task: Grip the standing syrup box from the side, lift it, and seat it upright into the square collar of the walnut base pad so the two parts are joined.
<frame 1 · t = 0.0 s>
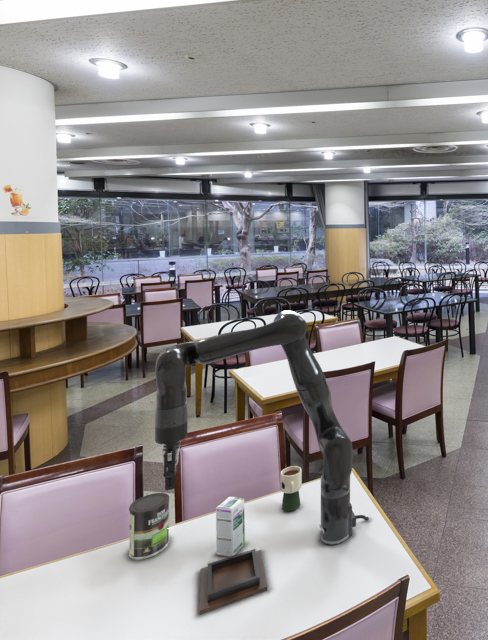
hand: (171, 481, 117), 29 cm above the table, tool pointing down, fingers open, 8 cm apart
base pad: (233, 581, 119), on the table
coffee can: (149, 548, 133), on the table
character mug: (291, 508, 153), on the table
syrup box: (230, 550, 132), on the table
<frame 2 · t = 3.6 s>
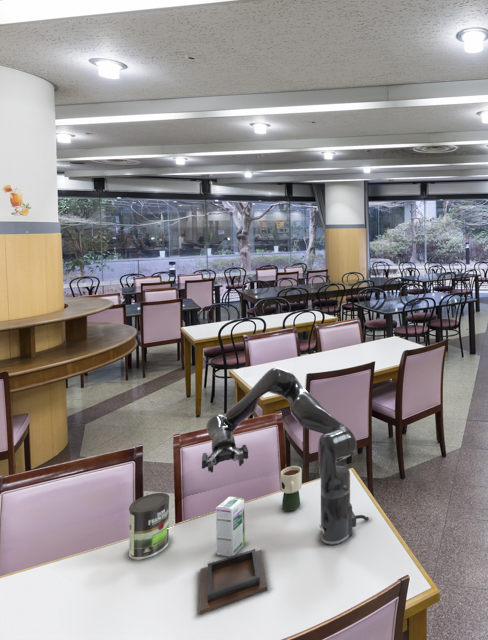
hand: (226, 466, 142), 20 cm above the table, tool horizontal, fingers open, 8 cm apart
nothing on the table moved.
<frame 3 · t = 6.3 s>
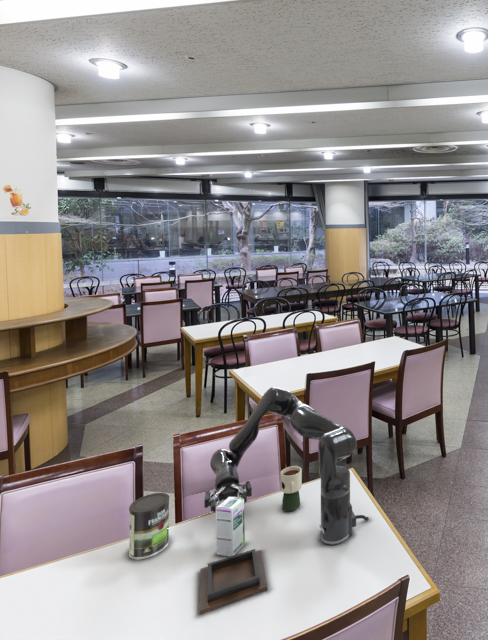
hand: (229, 505, 140), 9 cm above the table, tool horizontal, fingers open, 8 cm apart
nothing on the table moved.
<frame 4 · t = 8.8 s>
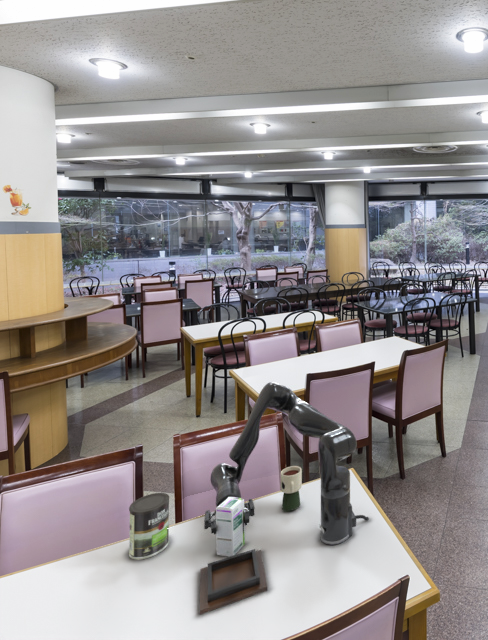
hand: (230, 526, 130), 8 cm above the table, tool horizontal, fingers closed on syrup box, 8 cm apart
syrup box: (230, 550, 132), on the table, touching gripper
everything else where it was.
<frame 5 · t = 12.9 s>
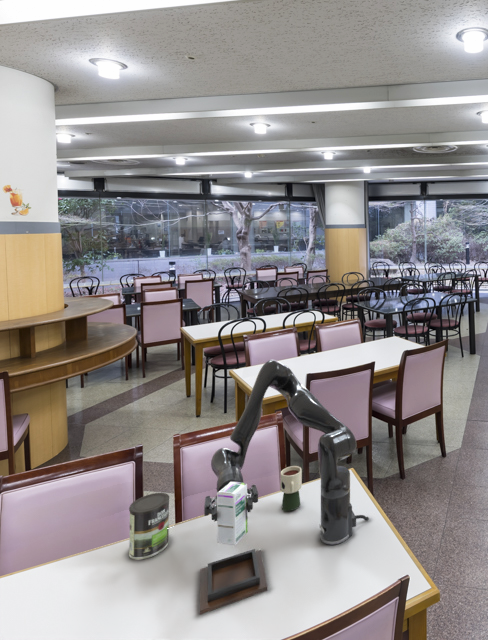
hand: (232, 513, 121), 18 cm above the table, tool horizontal, fingers closed on syrup box, 8 cm apart
syrup box: (232, 538, 123), point 9 cm above the table, touching gripper
everything else where it was.
when the fingers open (9 cm above the table, at t = 16.7 s): syrup box stays where it is, resting on base pad.
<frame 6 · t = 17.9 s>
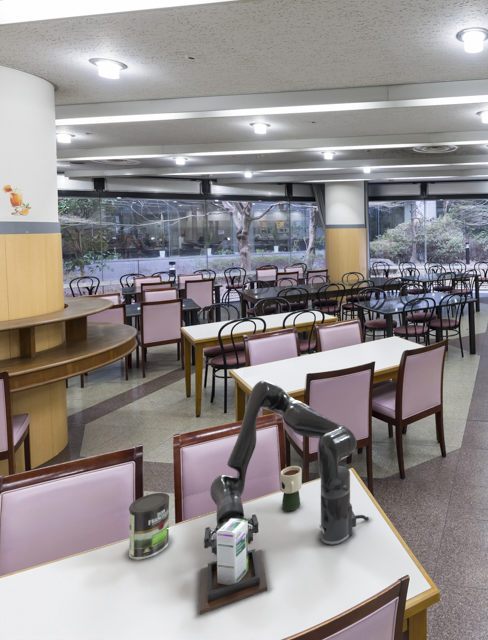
hand: (233, 545, 120), 9 cm above the table, tool horizontal, fingers open, 8 cm apart
syrup box: (232, 578, 119), point 1 cm above the table, touching base pad
everything else where it was.
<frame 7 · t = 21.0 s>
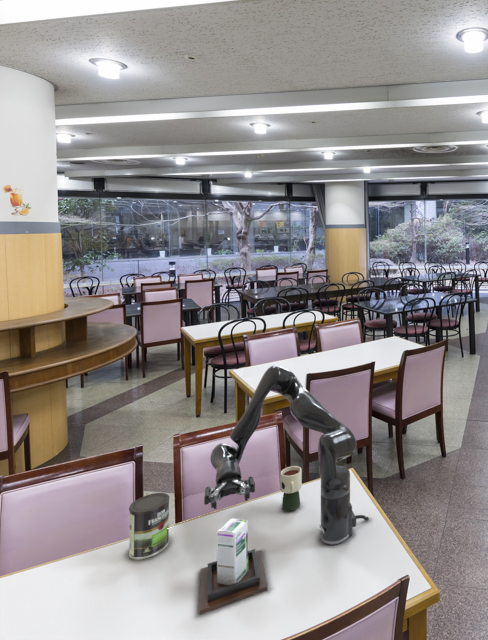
hand: (231, 501, 130), 16 cm above the table, tool horizontal, fingers open, 8 cm apart
nothing on the table moved.
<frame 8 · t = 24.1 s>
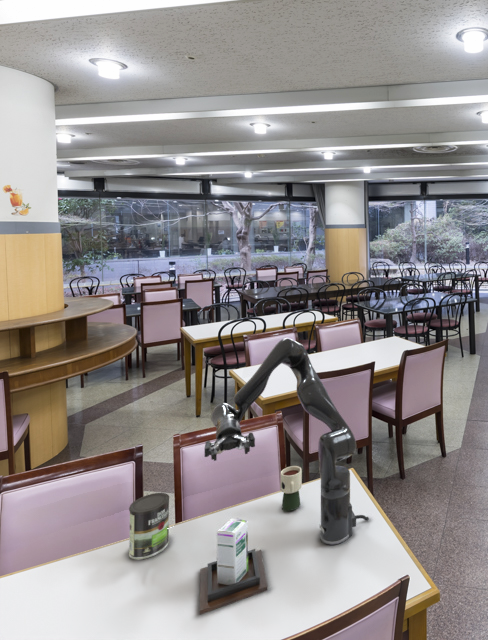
hand: (231, 454, 130), 30 cm above the table, tool horizontal, fingers open, 8 cm apart
nothing on the table moved.
at the end: syrup box 0.1 cm off-centre on the base pad, point 0.8 cm above the base pad's base; syrup box tilted 0°; the gripper is holding nothing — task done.
